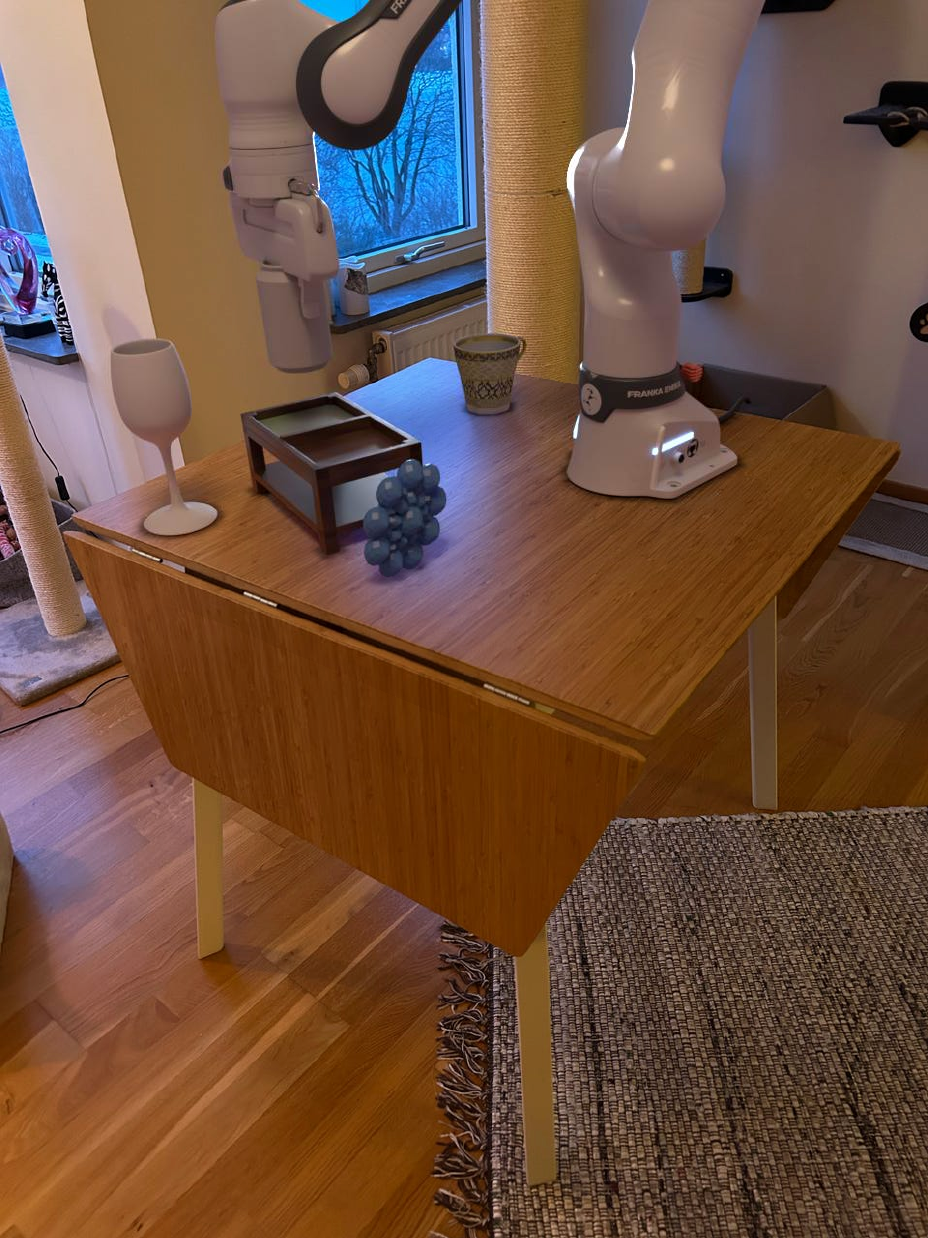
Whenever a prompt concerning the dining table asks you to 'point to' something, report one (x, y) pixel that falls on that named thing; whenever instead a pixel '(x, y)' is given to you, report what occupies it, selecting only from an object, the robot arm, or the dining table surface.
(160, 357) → the wineglass
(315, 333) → the can
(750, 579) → the dining table surface
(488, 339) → the ceramic cup
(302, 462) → the tray
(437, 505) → the grapes
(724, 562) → the dining table surface
